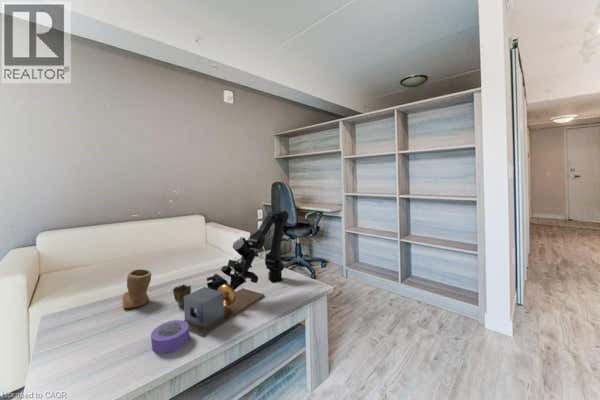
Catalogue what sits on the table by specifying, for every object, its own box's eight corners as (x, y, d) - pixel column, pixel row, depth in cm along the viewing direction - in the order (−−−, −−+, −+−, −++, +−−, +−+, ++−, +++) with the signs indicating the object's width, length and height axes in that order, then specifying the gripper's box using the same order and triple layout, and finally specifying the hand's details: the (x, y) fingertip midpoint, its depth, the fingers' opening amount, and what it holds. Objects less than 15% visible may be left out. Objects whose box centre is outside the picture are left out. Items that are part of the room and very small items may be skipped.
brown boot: (153, 304, 116) (151, 273, 115) (121, 312, 110) (119, 278, 108) (151, 292, 129) (150, 263, 127) (123, 298, 122) (121, 268, 121)
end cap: (228, 290, 130) (227, 278, 129) (214, 295, 125) (214, 281, 125) (220, 284, 137) (219, 272, 137) (206, 288, 133) (206, 275, 132)
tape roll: (159, 359, 81) (158, 344, 81) (146, 344, 89) (145, 330, 89) (195, 341, 90) (194, 328, 90) (180, 328, 98) (180, 316, 97)
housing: (242, 290, 130) (242, 268, 129) (264, 296, 123) (263, 273, 122) (178, 325, 99) (177, 297, 98) (202, 336, 92) (201, 306, 91)
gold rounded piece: (221, 301, 115) (220, 281, 114) (236, 306, 110) (235, 286, 109) (188, 319, 100) (187, 297, 99) (203, 326, 96) (202, 303, 95)
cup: (195, 302, 118) (194, 285, 118) (183, 309, 111) (182, 292, 111) (182, 299, 121) (181, 283, 120) (170, 307, 114) (169, 289, 113)
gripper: (222, 249, 121) (204, 280, 112) (253, 255, 111) (236, 289, 103) (235, 260, 128) (219, 290, 120) (264, 266, 119) (249, 299, 111)
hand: (230, 291), depth 113 cm, fingers closed
